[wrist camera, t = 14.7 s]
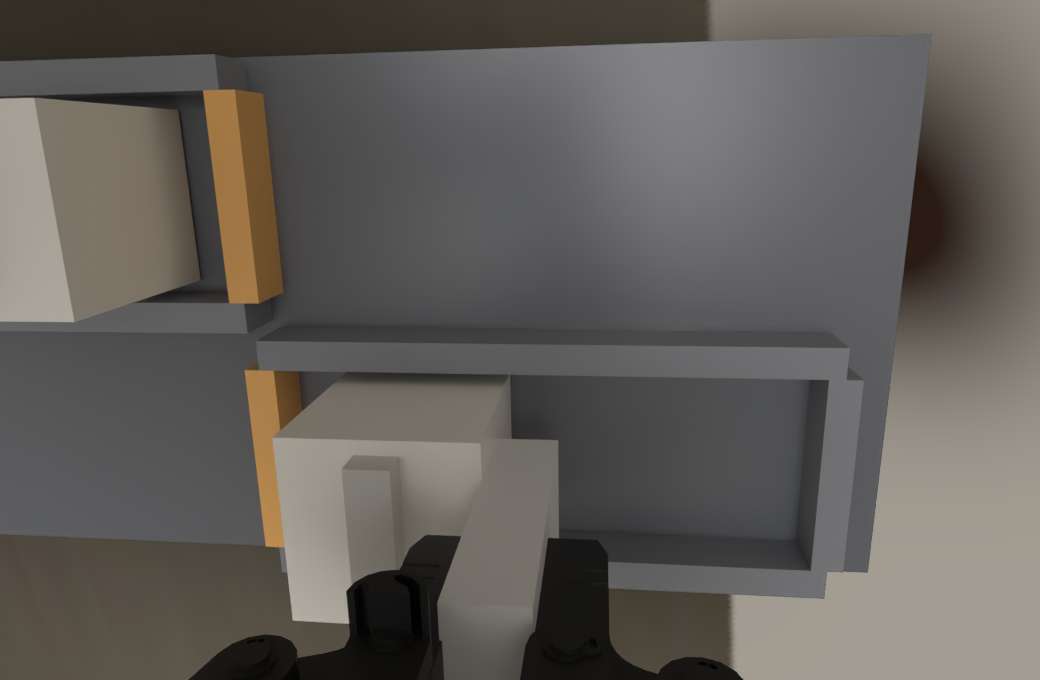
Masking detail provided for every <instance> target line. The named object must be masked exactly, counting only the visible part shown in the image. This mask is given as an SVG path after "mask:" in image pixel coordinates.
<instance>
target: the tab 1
mask: <svg viewBox="0 0 1040 680" xmlns="http://www.w3.org/2000/svg"><path fill="white" fill-rule="evenodd" d="M200 280H201V279H200V271H199V264H198V256H197V249H196V241H195V233H194V226H193V218H192V211H191V203H190V196H189V188H188V180H187V173H186V165H185V158H184V150H183V143H182V135H181V127H180V120H179V112H178V110H172V109H160V108H149V107H137V106H125V105H114V104H102V103H90V102H79V101H67V100H55V99H43V98H5V99H0V321H1V322H76V321H79V320H82V319H85V318H88V317H91V316H94V315H97V314H100V313H103V312H106V311H109V310H112V309H115V308H118V307H122V306H125V305H128V304H131V303H134V302H137V301H140V300H143V299H146V298H149V297H152V296H155V295H158V294H161V293H164V292H167V291H170V290H173V289H176V288H179V287H182V286H185V285H188V284H191V283H194V282H197V281H200Z"/></svg>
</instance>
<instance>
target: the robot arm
mask: <svg viewBox="0 0 1040 680" xmlns="http://www.w3.org/2000/svg"><path fill="white" fill-rule="evenodd" d="M346 595H347V606H348V617H349V628H350V638H349V640H348V642H347V643H346V645H345V647H344V648H342V649H339V650H337V651H333V652H328V653H324V654H318V655H313V656H307V657H301V658H298V656H297V649H296V648H295V646H294V645H293V643H292V642H291V641H290V640H288V639H286V638H283V637H281V636H275V635H260V636H254V637H248V638H246V639H243V640H241V641H238V642H236V643H233V644H231V645H230V646H228V647H227V648H225V649H224V650H222V651H221V652H219V653H218V654H217V655H216V656H215V657H214V658H213V659H211V660H210V661H209V662H208V663H207V664H206V665H205V666H204V667H202V668H201V669H200V670H199V671H198V672H197V673H196V674H195V675H193V676H192V677H191V678H190V679H189V680H743V679H742V678H741V677H740V676H739V674H738V673H737V672H736V671H734V670H733V669H731V668H729V667H727V666H726V665H724V664H722V663H721V662H717V661H714V660H710V659H707V658H701V657H685V658H681V659H677V660H673V661H671V662H669V663H668V664H667V665H665V666H664V667H663V668H661V669H660V672H659V674H656V673H653V672H649V671H646V670H643V669H641V668H638V667H636V666H634V665H632V664H630V663H629V662H627V661H626V660H624V659H623V658H622V657H621V656H620V655H619V654H618V653H617V652H616V651H615V650H614V648H613V646H612V645H611V642H610V637H609V587H608V553H607V552H606V551H605V549H604V548H603V547H602V545H601V544H600V543H599V541H598V540H589V539H565V538H559V472H558V440H532V439H497V440H496V442H495V445H494V448H493V451H492V454H491V456H490V459H489V462H488V465H487V467H486V470H485V473H484V476H483V478H482V481H481V484H480V486H479V489H478V492H477V495H476V497H475V500H474V503H473V506H472V508H471V511H470V514H469V517H468V519H467V522H466V525H465V528H464V530H463V533H462V536H446V535H425V536H424V537H423V538H421V539H420V540H419V541H418V542H416V543H415V544H414V545H413V546H411V547H410V548H409V551H408V553H407V555H406V557H405V559H404V561H403V565H402V566H401V567H400V569H399V570H387V571H380V572H376V573H373V574H369V575H366V576H365V577H363V578H361V579H359V580H358V581H356V582H354V583H353V584H352V585H351V587H350V588H349V589H348V590H347V591H346Z"/></svg>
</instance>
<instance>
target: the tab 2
mask: <svg viewBox="0 0 1040 680" xmlns="http://www.w3.org/2000/svg"><path fill="white" fill-rule="evenodd" d="M497 439H512V431H511V386H510V375H500V374H439V373H379V372H346V373H345V374H344V375H343V376H342V377H341V378H339V379H338V380H337V381H336V382H335V383H334V384H333V385H331V386H330V387H329V388H328V389H327V390H326V391H325V392H324V393H322V394H321V395H320V396H319V397H318V398H317V399H316V400H314V401H313V402H312V403H311V404H310V405H309V406H308V407H307V408H305V409H304V410H303V411H302V412H301V413H300V414H299V415H297V416H296V417H295V418H294V419H293V420H292V421H291V422H289V423H288V424H287V425H286V426H285V427H284V428H283V429H282V430H280V431H279V432H278V433H277V434H276V435H275V436H274V437H272V440H273V449H274V458H275V466H276V475H277V484H278V493H279V502H280V511H281V520H282V529H283V537H284V546H285V555H286V564H287V573H288V582H289V591H290V599H291V608H292V617H293V621H310V622H328V623H345V624H349V617H348V606H347V595H346V591H347V590H348V589H349V588H350V587H351V585H352V584H353V583H354V582H356V581H358V580H359V579H361V578H363V577H365V576H366V575H369V574H373V573H376V572H380V571H387V570H399V569H400V567H401V566H402V565H403V561H404V559H405V557H406V555H407V553H408V551H409V548H410V547H411V546H413V545H414V544H415V543H416V542H418V541H419V540H420V539H421V538H423V537H424V536H425V535H446V536H462V533H463V530H464V528H465V525H466V522H467V519H468V517H469V514H470V511H471V508H472V506H473V503H474V500H475V497H476V495H477V492H478V489H479V486H480V484H481V481H482V478H483V476H484V473H485V470H486V467H487V465H488V462H489V459H490V456H491V454H492V451H493V448H494V445H495V442H496V440H497Z"/></svg>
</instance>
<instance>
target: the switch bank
mask: <svg viewBox="0 0 1040 680" xmlns="http://www.w3.org/2000/svg"><path fill="white" fill-rule="evenodd" d="M931 35H932V34H917V35H916V34H915V35H887V36H856V37H827V38H797V39H770V40H769V39H767V40H738V41H708V42H678V43H648V44H619V45H589V46H559V47H530V48H500V49H470V50H441V51H411V52H381V53H352V54H322V55H292V56H263V57H233V58H229V57H225V56H221V55H216V54H203V55H174V56H145V57H116V58H87V59H58V60H29V61H0V99H5V98H43V99H55V100H67V101H79V102H90V103H102V104H114V105H125V106H137V107H149V108H160V109H172V110H178V112H179V120H180V127H181V135H182V143H183V150H184V158H185V165H186V173H187V180H188V188H189V196H190V203H191V211H192V218H193V226H194V233H195V241H196V249H197V256H198V264H199V271H200V279H201V280H200V281H197V282H194V283H191V284H188V285H185V286H182V287H179V288H176V289H173V290H170V291H167V292H164V293H161V294H158V295H155V296H152V297H149V298H146V299H143V300H140V301H137V302H134V303H131V304H128V305H125V306H122V307H118V308H115V309H112V310H109V311H106V312H103V313H100V314H97V315H94V316H91V317H88V318H85V319H82V320H79V321H76V322H1V321H0V534H12V535H34V536H57V537H79V538H102V539H124V540H147V541H169V542H192V543H214V544H237V545H259V546H266V547H279V548H280V557H281V566H282V572H285V573H287V564H286V555H285V546H284V537H283V529H282V520H281V511H280V502H279V493H278V484H277V475H276V466H275V458H274V449H273V440H272V437H274V436H275V435H276V434H277V433H278V432H279V431H280V430H282V429H283V428H284V427H285V426H286V425H287V424H288V423H289V422H291V421H292V420H293V419H294V418H295V417H296V416H297V415H299V414H300V413H301V412H302V411H303V410H304V409H305V408H307V407H308V406H309V405H310V404H311V403H312V402H313V401H314V400H316V399H317V398H318V397H319V396H320V395H321V394H322V393H324V392H325V391H326V390H327V389H328V388H329V387H330V386H331V385H333V384H334V383H335V382H336V381H337V380H338V379H339V378H341V377H342V376H343V375H344V374H345V373H346V372H379V373H439V374H500V375H510V386H511V431H512V439H532V440H558V472H559V538H565V539H589V540H598V541H599V543H600V544H601V545H602V547H603V548H604V549H605V551H606V552H607V553H608V587H609V588H614V589H635V590H655V591H676V592H696V593H717V594H738V595H758V596H780V597H801V598H820V599H824V595H825V585H826V576H827V572H843V571H844V572H845V571H846V572H866V573H867V572H868V565H869V557H870V548H871V540H872V532H873V524H874V514H875V507H876V498H877V490H878V482H879V473H880V465H881V456H882V448H883V440H884V431H885V421H886V414H887V405H888V396H889V388H890V380H891V372H892V363H893V355H894V346H895V338H896V330H897V321H898V313H899V305H900V296H901V288H902V278H903V271H904V262H905V254H906V245H907V237H908V229H909V220H910V212H911V204H912V195H913V187H914V178H915V169H916V161H917V153H918V144H919V136H920V128H921V119H922V110H923V102H924V94H925V86H926V77H927V69H928V60H929V52H930V43H931Z"/></svg>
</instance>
